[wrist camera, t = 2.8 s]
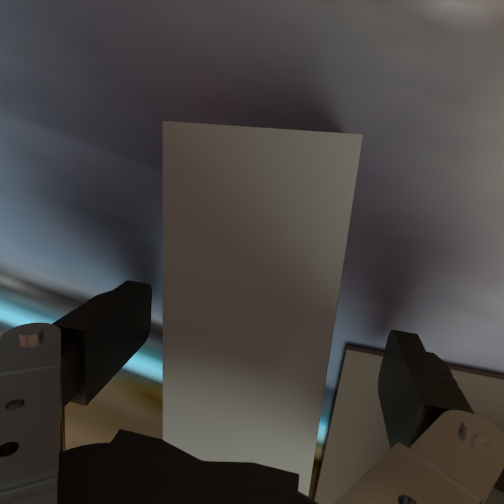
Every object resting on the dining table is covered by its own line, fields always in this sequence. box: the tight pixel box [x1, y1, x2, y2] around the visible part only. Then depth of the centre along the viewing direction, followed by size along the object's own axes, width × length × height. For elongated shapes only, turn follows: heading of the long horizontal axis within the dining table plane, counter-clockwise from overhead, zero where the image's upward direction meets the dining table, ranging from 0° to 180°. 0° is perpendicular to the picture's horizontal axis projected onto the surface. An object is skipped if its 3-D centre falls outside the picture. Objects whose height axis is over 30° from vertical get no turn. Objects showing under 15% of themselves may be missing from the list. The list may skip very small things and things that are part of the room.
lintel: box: [162, 121, 363, 496], centre depth 11 cm, size 12×4×5 cm, turn 177°
